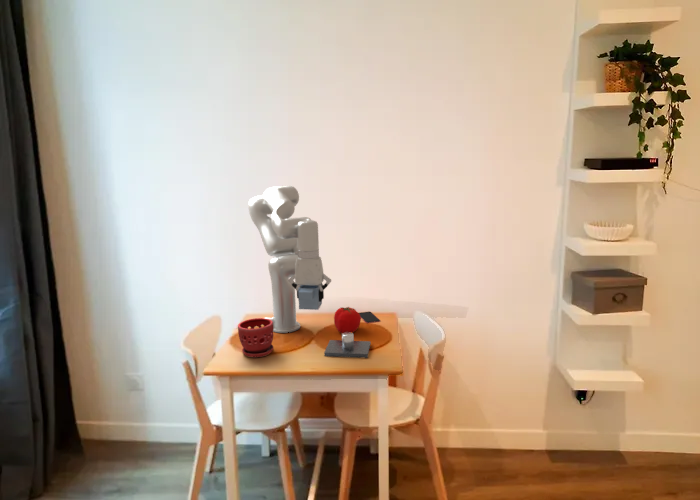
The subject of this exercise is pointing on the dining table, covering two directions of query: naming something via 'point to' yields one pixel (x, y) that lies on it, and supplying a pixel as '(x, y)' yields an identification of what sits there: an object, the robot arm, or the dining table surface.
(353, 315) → the tomato
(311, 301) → the elbow
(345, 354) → the duct base
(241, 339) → the plant pot
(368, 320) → the smartphone
